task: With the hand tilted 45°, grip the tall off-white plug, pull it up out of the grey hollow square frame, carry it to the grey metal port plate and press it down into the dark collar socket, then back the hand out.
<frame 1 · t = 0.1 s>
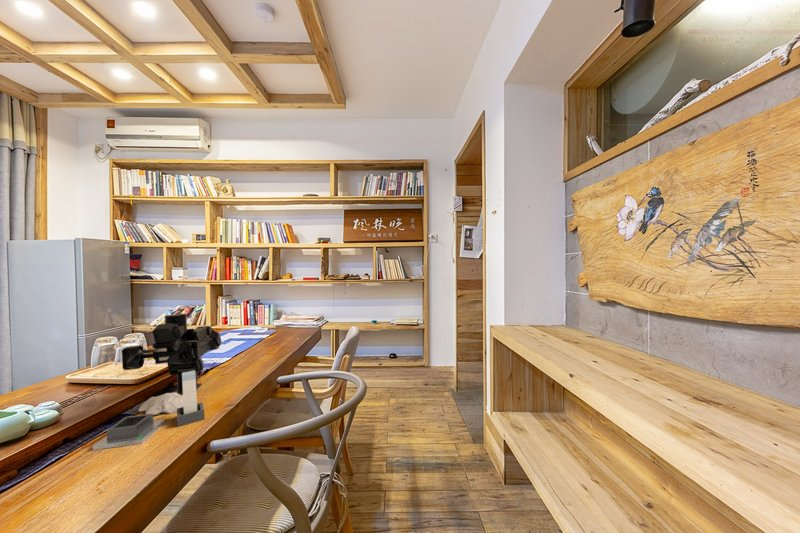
hand: (148, 362, 83), 17 cm above the table, tool horizontal, fingers open, 9 cm apart
decorative stone: (168, 409, 93), on the table
port: (131, 435, 78), on the table
plug: (189, 395, 85), in the grey hollow square frame
grey hollow square frame: (190, 418, 85), on the table
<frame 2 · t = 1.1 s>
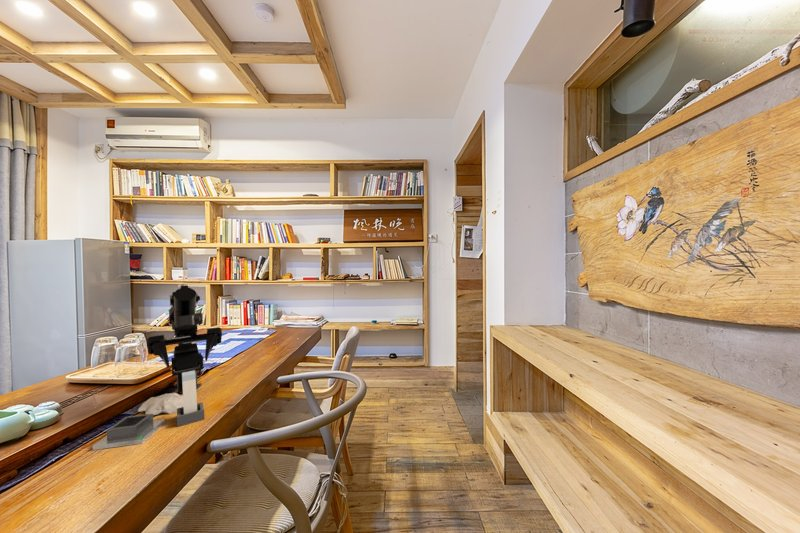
hand: (187, 363, 91), 14 cm above the table, tool tilted 45°, fingers open, 9 cm apart
nothing on the table moved.
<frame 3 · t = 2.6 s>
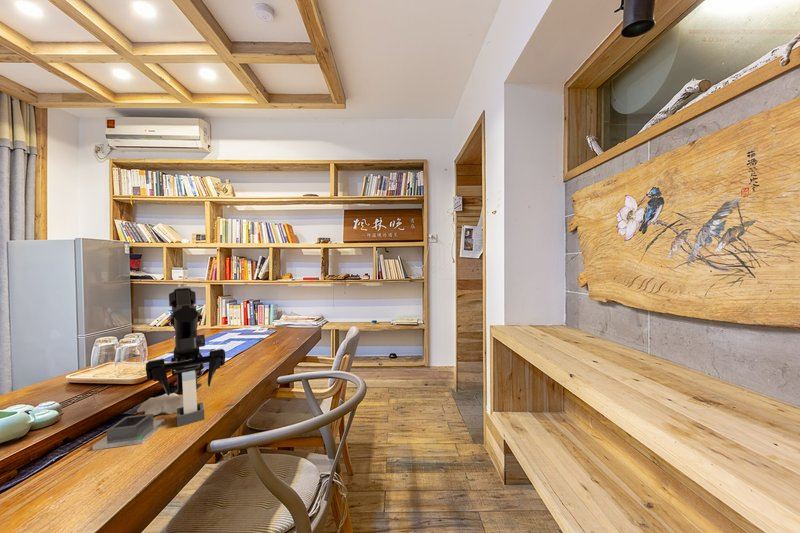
hand: (189, 390, 85), 8 cm above the table, tool tilted 45°, fingers open, 9 cm apart
nothing on the table moved.
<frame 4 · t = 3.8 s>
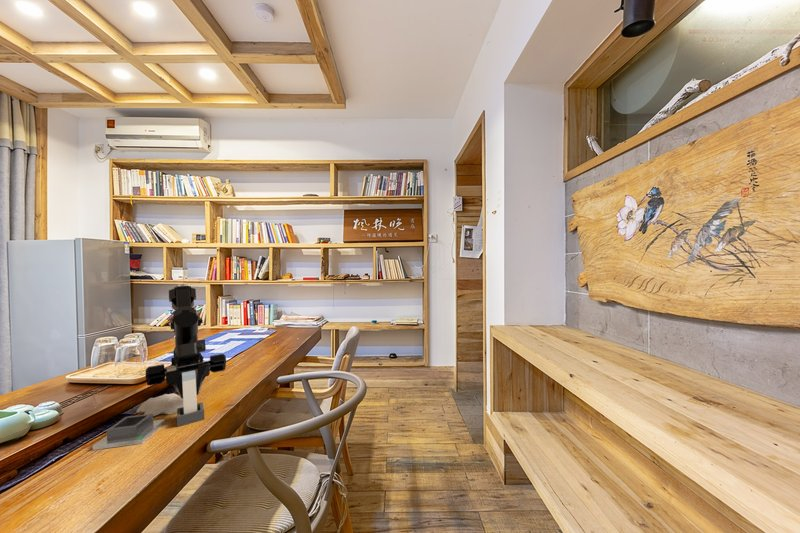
hand: (189, 396, 84), 7 cm above the table, tool tilted 45°, fingers closed on plug, 3 cm apart
plug: (189, 395, 85), in the grey hollow square frame, touching gripper
everything else where it was.
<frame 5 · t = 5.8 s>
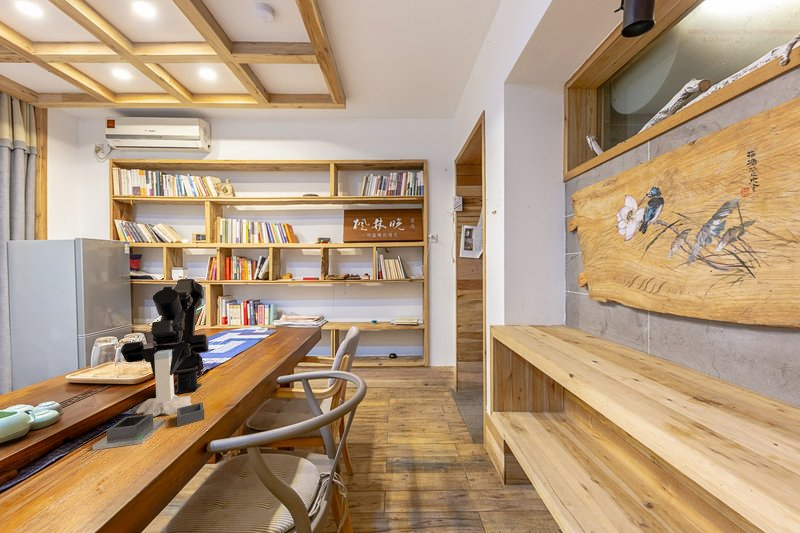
hand: (162, 375, 80), 14 cm above the table, tool tilted 45°, fingers closed on plug, 3 cm apart
plug: (164, 375, 81), point 13 cm above the table, touching gripper
when the fingers open (8 cm above the table, at t = 8.0 s): plug stays where it is, resting on port.
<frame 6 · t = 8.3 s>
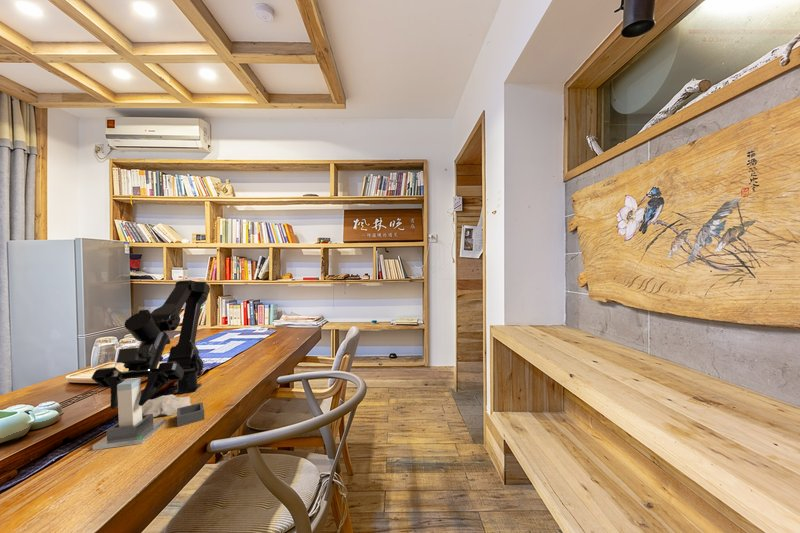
hand: (126, 406, 76), 8 cm above the table, tool tilted 45°, fingers open, 6 cm apart
plug: (130, 406, 78), in the port, point 7 cm above the table
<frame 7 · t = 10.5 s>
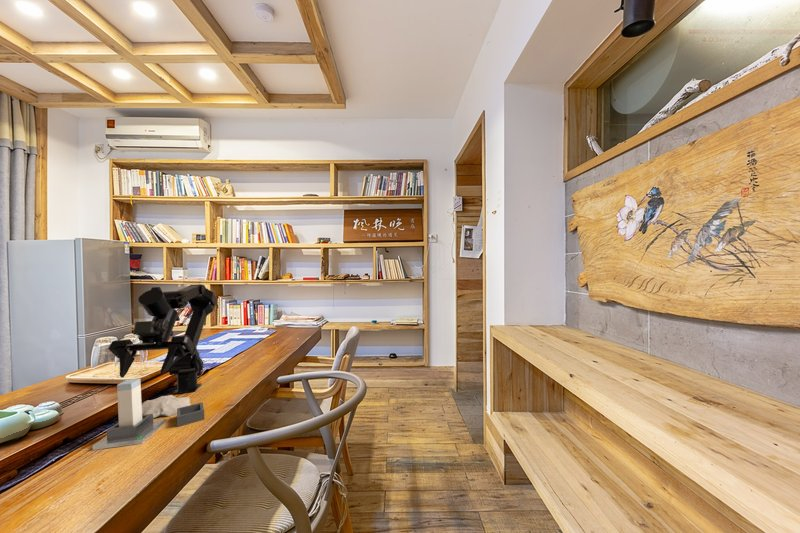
hand: (141, 375, 82), 14 cm above the table, tool tilted 45°, fingers open, 9 cm apart
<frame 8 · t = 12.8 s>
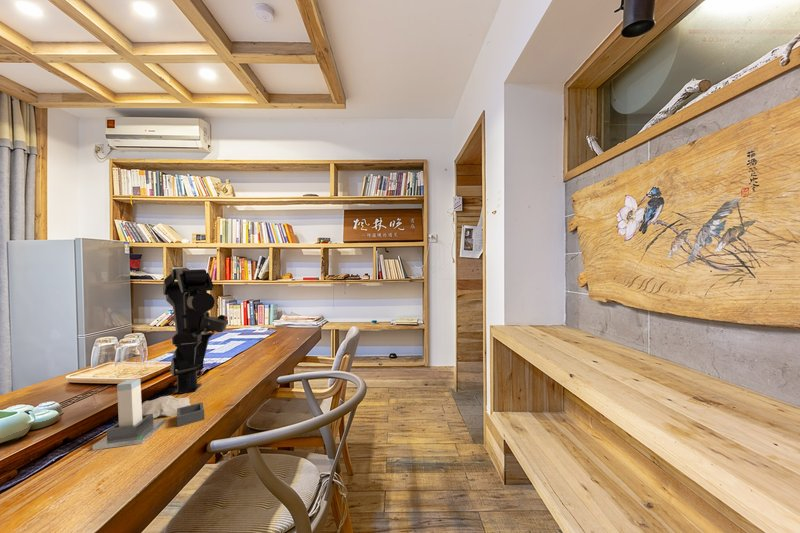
hand: (197, 360, 96), 13 cm above the table, tool pointing down, fingers open, 9 cm apart
at the end: plug 0.0 cm off-centre on the port, point 7.2 cm above the port's base; plug tilted 0°; the gripper is holding nothing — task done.
